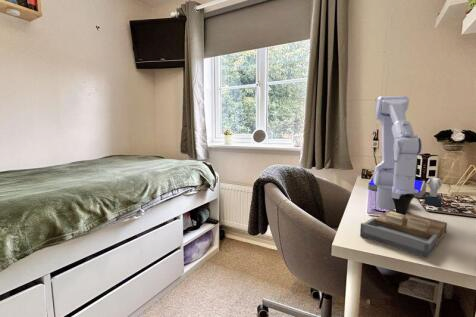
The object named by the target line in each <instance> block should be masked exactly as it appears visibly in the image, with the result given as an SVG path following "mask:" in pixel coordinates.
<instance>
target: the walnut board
mask: <svg viewBox="0 0 476 317" xmlns="http://www.w3.org/2000/svg"><path fill="white" fill-rule="evenodd" d="M389 212H395V213H396V211H395V210H389V211H387V212H383V214H381V215H380V216H378V217H376V220H375V224H376V225H379V226H383V227H386V228H390V229H393V230H397V231H400V232H404V233H407V234H411V235H414V236H418V237H421V238H425V239H428V240H429V239H430V238H431V237H432V236H433V234H435V235H437V243H436V245H437V244H438V242H440V240H441V239H442V237H444V235H446V233H447V229H448V228H447V227H448V222H446V221H441V220H439V219H438V220H437V219H433V218H429V217H424V216H419V215H416V214H413V213H412V214H411V213H407V212H406V215H407V217H406V222H405V223H403V224H402V225H399V224H395V223H391V222H387V221H385V217H386V214H388V213H389ZM411 217H416V218H420V219H424V220H428V221H430V224H429V228H428V229H427V230H426V231H421V230H417V229H414V228H410V227H407V220H409V219H410V218H411Z"/></svg>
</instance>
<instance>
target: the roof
mask: <svg viewBox="0 0 476 317" xmlns="http://www.w3.org/2000/svg"><path fill="white" fill-rule="evenodd" d="M373 176H374V173H373V174H372V176H371V177H370V180H369V182H368V187H367V189H368V190H371V191H376V190H377V186H376V185H375V184H374V181H373ZM414 189H415V190H418V193H410V194H413V195H414V198H419V199H421V198H422V197H423V196H425V194H427V193H426V192H427V183H426V181H425V180H418V179H415V184H414Z"/></svg>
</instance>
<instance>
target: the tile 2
mask: <svg viewBox="0 0 476 317" xmlns="http://www.w3.org/2000/svg"><path fill="white" fill-rule="evenodd" d="M429 224H430V221H428V220H424V219H420V218H416V217H411V218H410V219H409V220H407V227H410V228H414V229H417V230H421V231H426V230H427V229H428V228H429Z"/></svg>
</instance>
